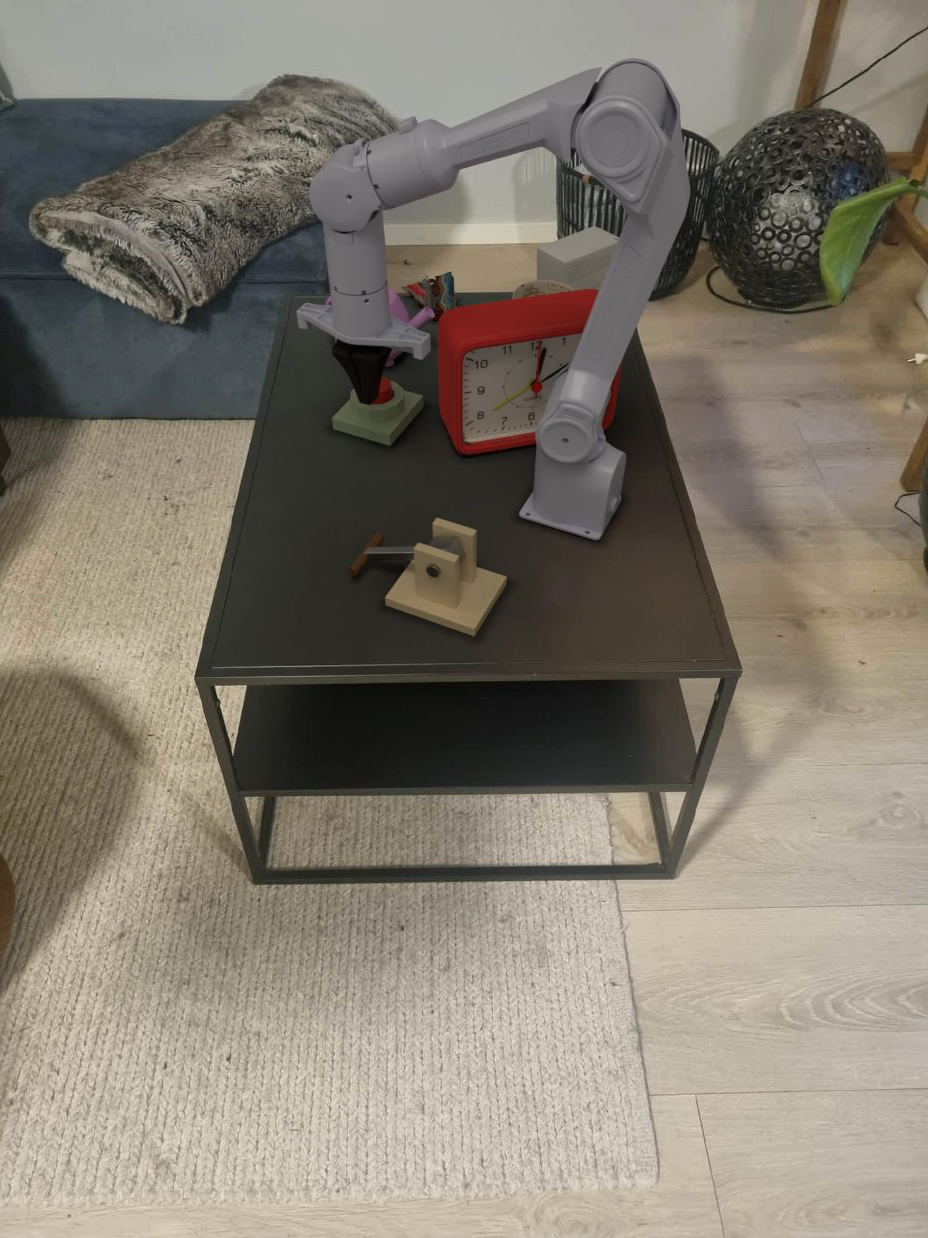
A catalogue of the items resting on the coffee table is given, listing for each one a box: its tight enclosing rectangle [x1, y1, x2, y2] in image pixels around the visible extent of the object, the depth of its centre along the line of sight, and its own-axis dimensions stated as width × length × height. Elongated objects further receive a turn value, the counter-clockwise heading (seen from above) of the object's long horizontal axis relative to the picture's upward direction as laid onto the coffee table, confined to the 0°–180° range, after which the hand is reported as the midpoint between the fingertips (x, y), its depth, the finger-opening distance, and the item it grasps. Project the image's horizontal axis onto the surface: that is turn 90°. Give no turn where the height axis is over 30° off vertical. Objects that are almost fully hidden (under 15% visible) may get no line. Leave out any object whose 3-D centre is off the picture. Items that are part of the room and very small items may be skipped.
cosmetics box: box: [536, 225, 620, 290], centre depth 129 cm, size 10×6×10 cm, turn 126°
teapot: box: [325, 286, 435, 368], centre depth 123 cm, size 10×15×9 cm
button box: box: [331, 380, 425, 447], centre depth 115 cm, size 8×9×4 cm
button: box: [372, 376, 392, 404], centre depth 113 cm, size 4×4×2 cm
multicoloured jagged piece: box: [401, 270, 458, 321], centre depth 133 cm, size 12×7×6 cm
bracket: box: [384, 517, 508, 637], centre depth 93 cm, size 10×8×8 cm
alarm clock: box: [437, 289, 623, 456], centre depth 109 cm, size 10×20×16 cm, turn 105°
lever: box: [347, 531, 466, 577], centre depth 94 cm, size 12×6×2 cm, turn 65°
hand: (369, 399), depth 101 cm, fingers closed
